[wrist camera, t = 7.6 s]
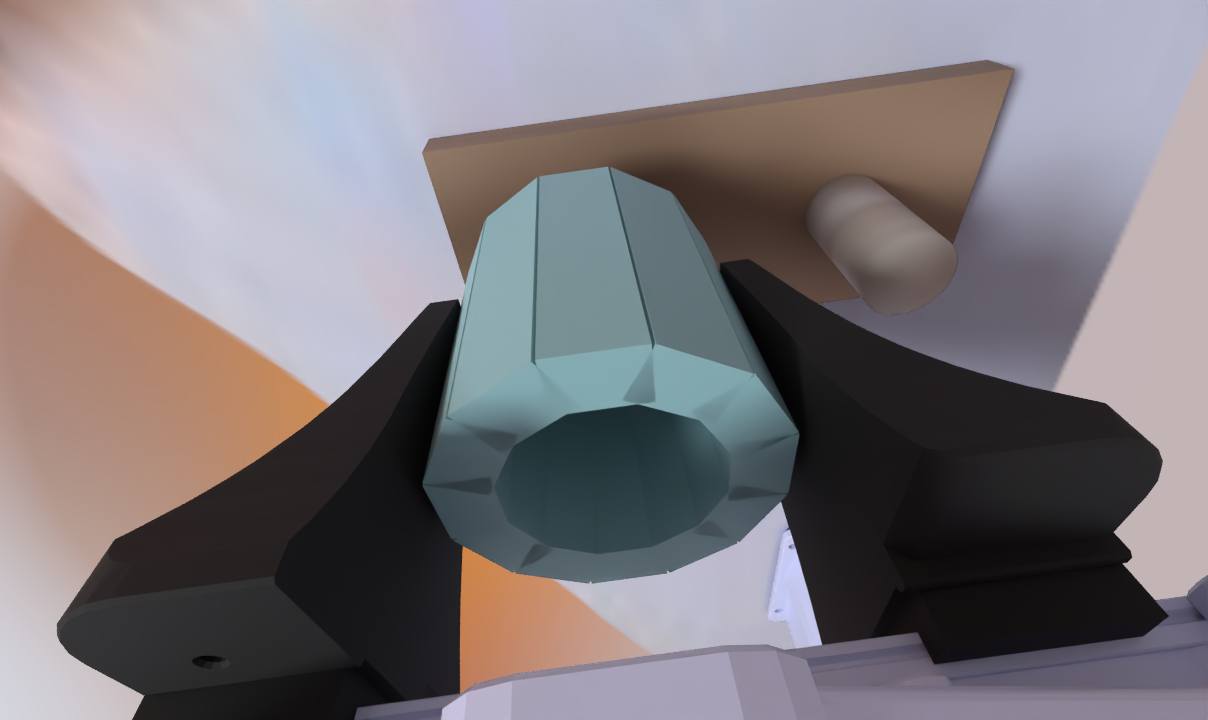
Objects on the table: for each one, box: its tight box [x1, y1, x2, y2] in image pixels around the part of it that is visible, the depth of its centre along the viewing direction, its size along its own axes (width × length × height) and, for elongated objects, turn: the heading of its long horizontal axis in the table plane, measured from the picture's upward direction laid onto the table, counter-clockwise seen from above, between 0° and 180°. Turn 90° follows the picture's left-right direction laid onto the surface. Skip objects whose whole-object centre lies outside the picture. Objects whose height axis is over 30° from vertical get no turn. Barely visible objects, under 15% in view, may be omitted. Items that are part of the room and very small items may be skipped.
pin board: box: [422, 60, 1014, 315], centre depth 13 cm, size 6×14×4 cm, turn 96°
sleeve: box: [422, 167, 799, 583], centre depth 11 cm, size 6×6×6 cm
